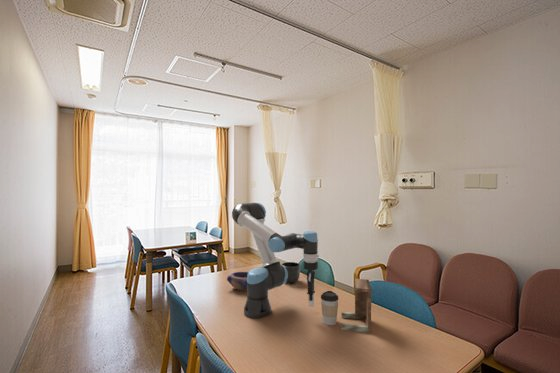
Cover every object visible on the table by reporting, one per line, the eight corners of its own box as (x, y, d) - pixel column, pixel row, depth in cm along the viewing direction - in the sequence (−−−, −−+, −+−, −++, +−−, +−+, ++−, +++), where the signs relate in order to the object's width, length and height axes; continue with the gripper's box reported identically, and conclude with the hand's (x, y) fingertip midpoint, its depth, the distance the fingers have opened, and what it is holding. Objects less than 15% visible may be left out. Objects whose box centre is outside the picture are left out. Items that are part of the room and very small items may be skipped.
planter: (300, 285, 199) (300, 267, 199) (281, 285, 199) (281, 267, 199) (299, 278, 213) (299, 262, 213) (281, 278, 213) (281, 261, 213)
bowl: (261, 286, 196) (261, 272, 196) (244, 295, 181) (244, 279, 181) (241, 282, 206) (241, 268, 206) (224, 289, 191) (224, 275, 191)
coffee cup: (338, 327, 140) (338, 297, 140) (320, 325, 142) (320, 295, 142) (338, 318, 149) (338, 290, 149) (321, 317, 150) (321, 289, 150)
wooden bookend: (341, 329, 137) (341, 286, 137) (341, 316, 151) (341, 277, 151) (371, 333, 134) (371, 289, 134) (368, 319, 148) (368, 279, 148)
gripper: (316, 264, 141) (317, 311, 140) (318, 258, 153) (319, 301, 153) (301, 263, 142) (302, 310, 142) (305, 257, 155) (305, 300, 155)
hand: (311, 305), depth 148 cm, fingers closed
